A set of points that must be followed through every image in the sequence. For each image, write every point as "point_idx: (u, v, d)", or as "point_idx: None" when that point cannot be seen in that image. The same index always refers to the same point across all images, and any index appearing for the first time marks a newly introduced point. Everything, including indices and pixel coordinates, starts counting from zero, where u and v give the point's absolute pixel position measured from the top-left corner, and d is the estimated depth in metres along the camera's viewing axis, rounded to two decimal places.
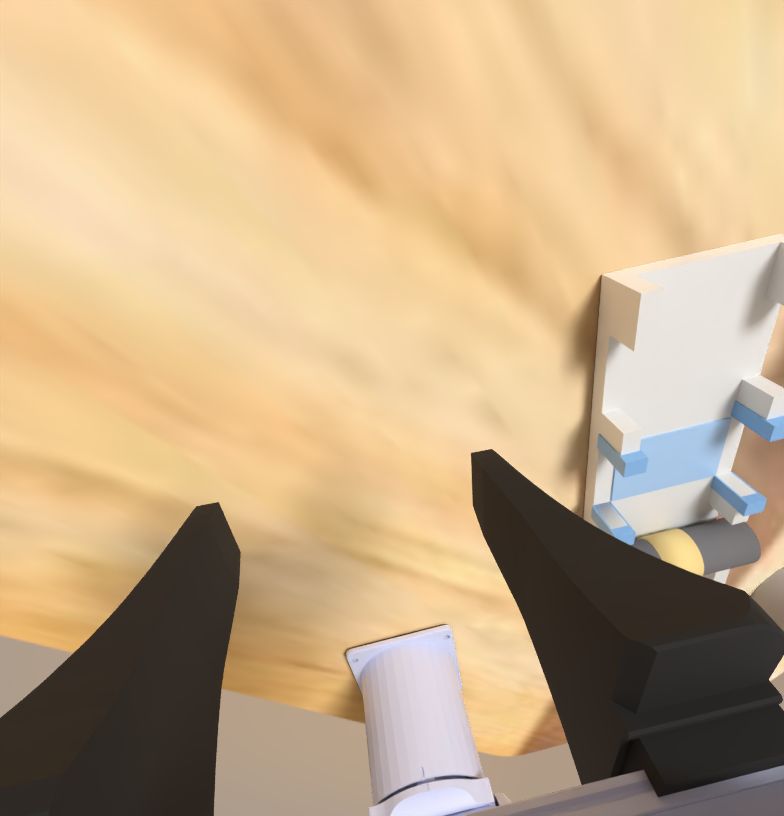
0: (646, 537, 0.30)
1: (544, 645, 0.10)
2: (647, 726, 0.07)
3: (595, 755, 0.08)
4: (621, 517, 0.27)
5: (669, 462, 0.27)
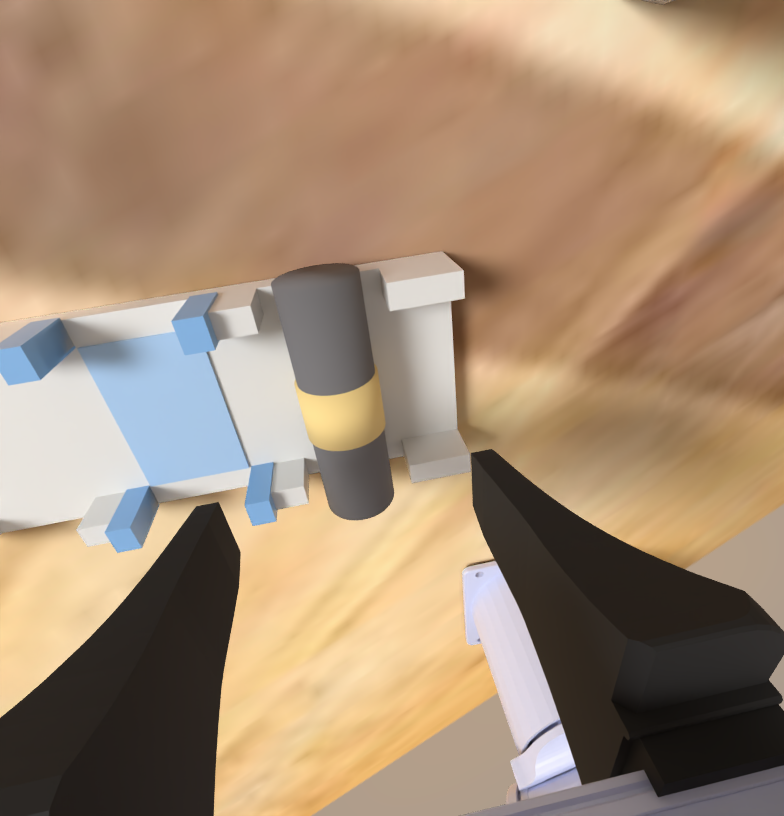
0: None
1: (544, 645, 0.10)
2: (648, 727, 0.07)
3: (595, 755, 0.08)
4: None
5: (173, 413, 0.19)
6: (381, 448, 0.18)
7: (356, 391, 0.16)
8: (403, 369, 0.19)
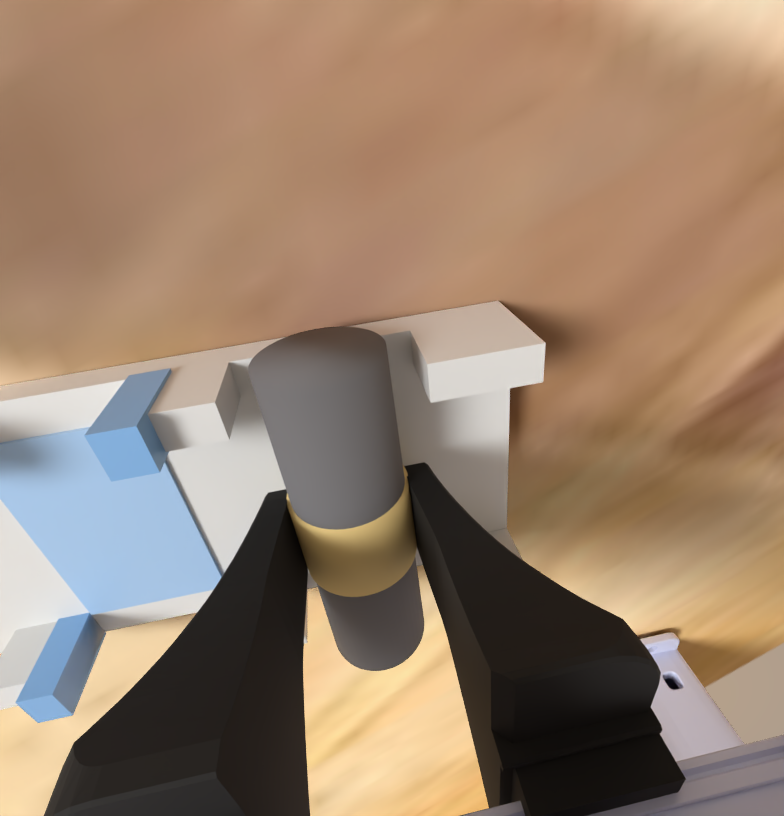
0: None
1: (458, 665, 0.10)
2: (522, 758, 0.07)
3: (491, 781, 0.08)
4: None
5: (116, 528, 0.13)
6: (411, 580, 0.13)
7: (380, 521, 0.11)
8: (438, 461, 0.14)
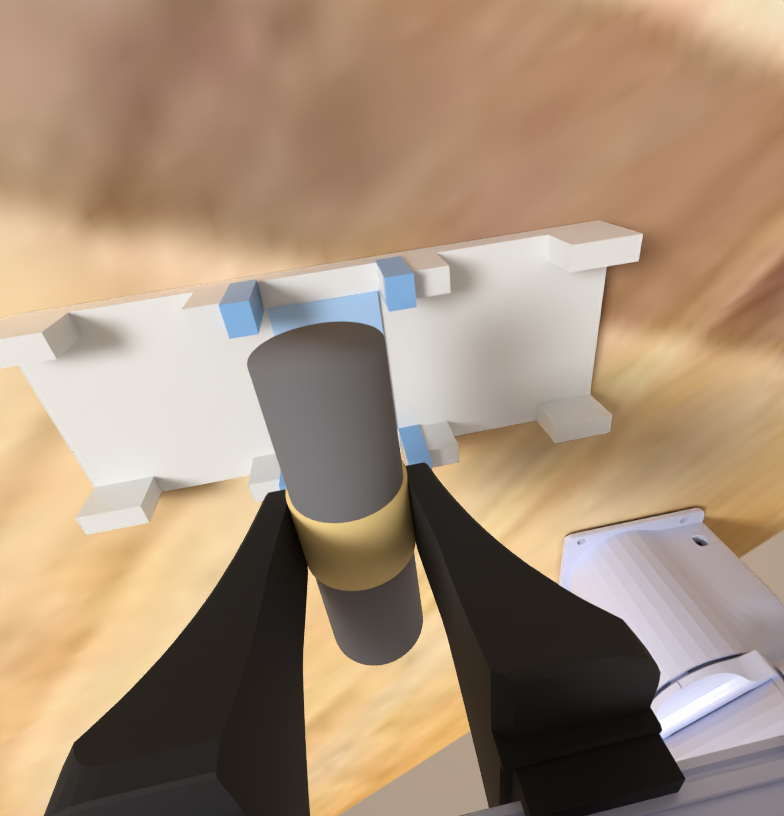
0: None
1: (458, 665, 0.10)
2: (522, 758, 0.07)
3: (491, 781, 0.08)
4: (403, 446, 0.21)
5: None
6: (409, 575, 0.13)
7: (378, 515, 0.11)
8: (551, 334, 0.21)
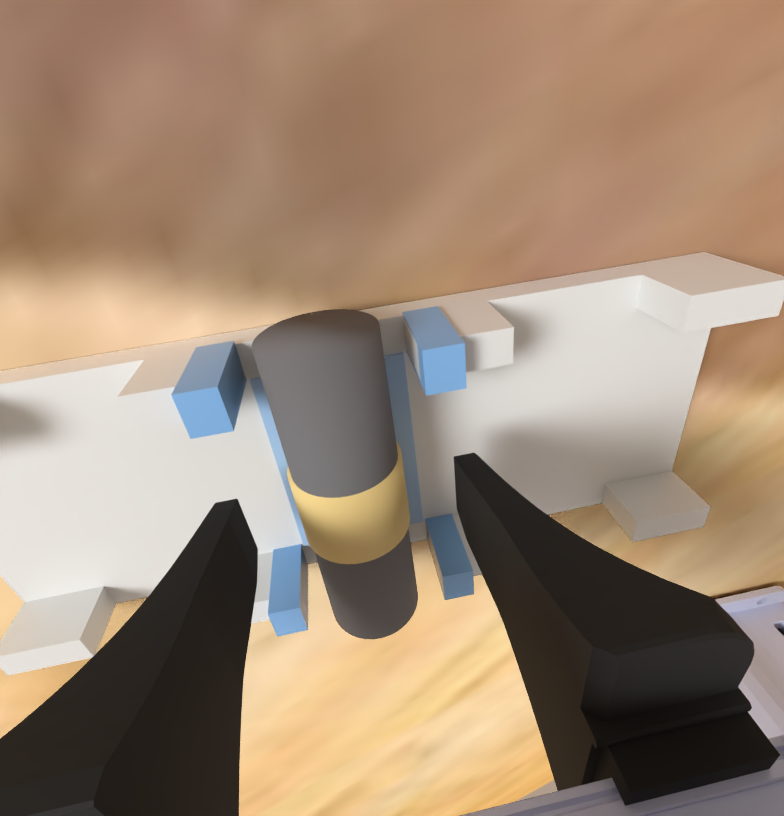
0: None
1: (522, 650, 0.10)
2: (615, 735, 0.07)
3: (568, 762, 0.08)
4: (433, 549, 0.16)
5: None
6: (404, 551, 0.14)
7: (374, 490, 0.11)
8: (631, 402, 0.15)
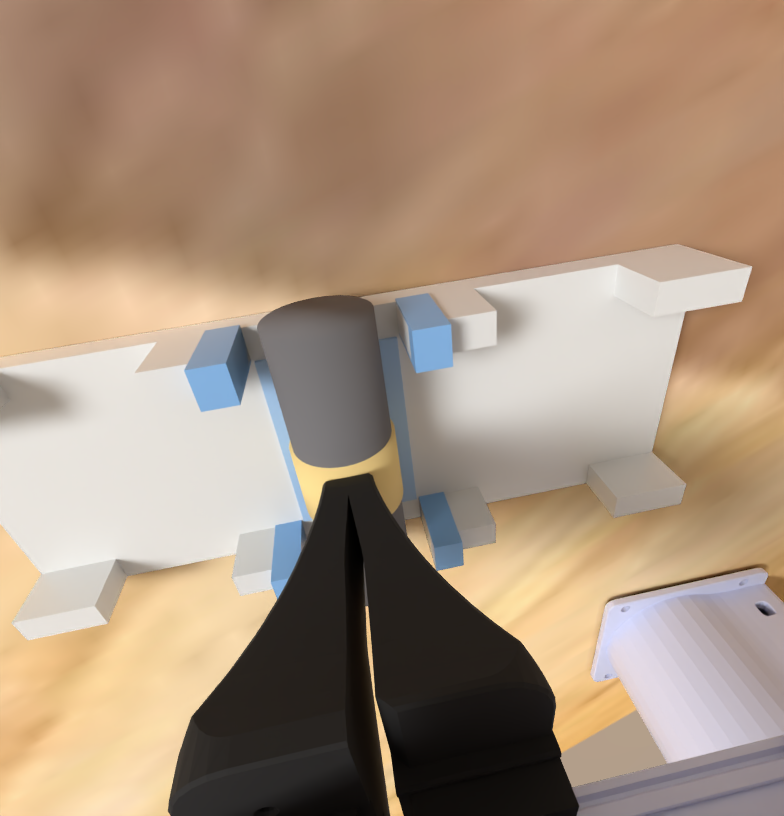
0: None
1: None
2: (417, 783, 0.06)
3: None
4: (426, 524, 0.17)
5: None
6: (398, 522, 0.15)
7: (369, 461, 0.12)
8: (612, 385, 0.16)
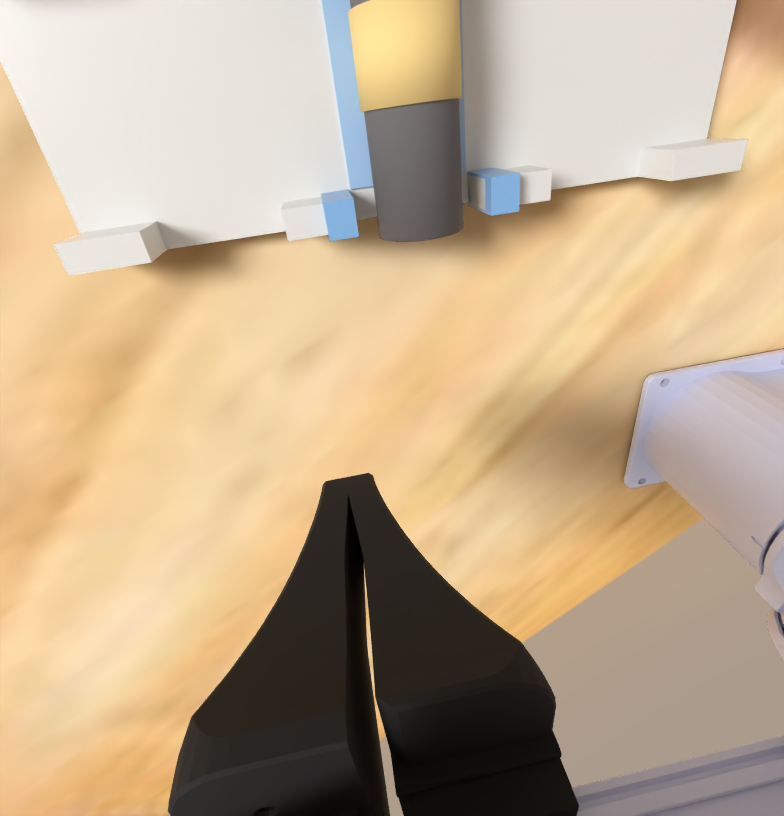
0: None
1: None
2: (416, 783, 0.06)
3: None
4: (479, 177, 0.16)
5: None
6: (457, 127, 0.14)
7: None
8: (672, 28, 0.16)
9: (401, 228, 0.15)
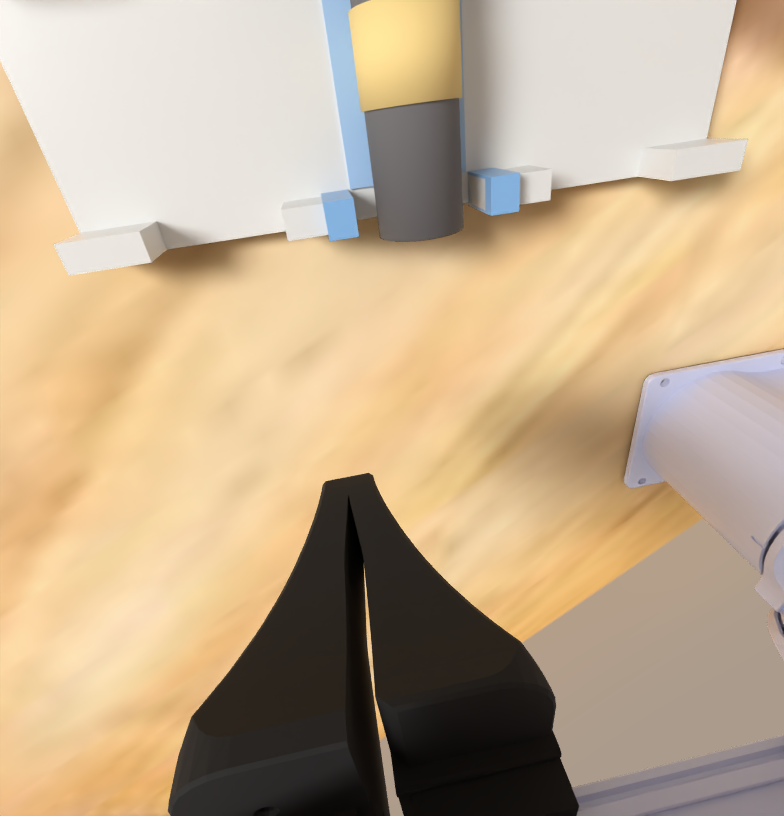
0: None
1: None
2: (416, 783, 0.06)
3: None
4: (479, 177, 0.16)
5: None
6: (457, 127, 0.14)
7: None
8: (672, 28, 0.16)
9: (401, 228, 0.15)
